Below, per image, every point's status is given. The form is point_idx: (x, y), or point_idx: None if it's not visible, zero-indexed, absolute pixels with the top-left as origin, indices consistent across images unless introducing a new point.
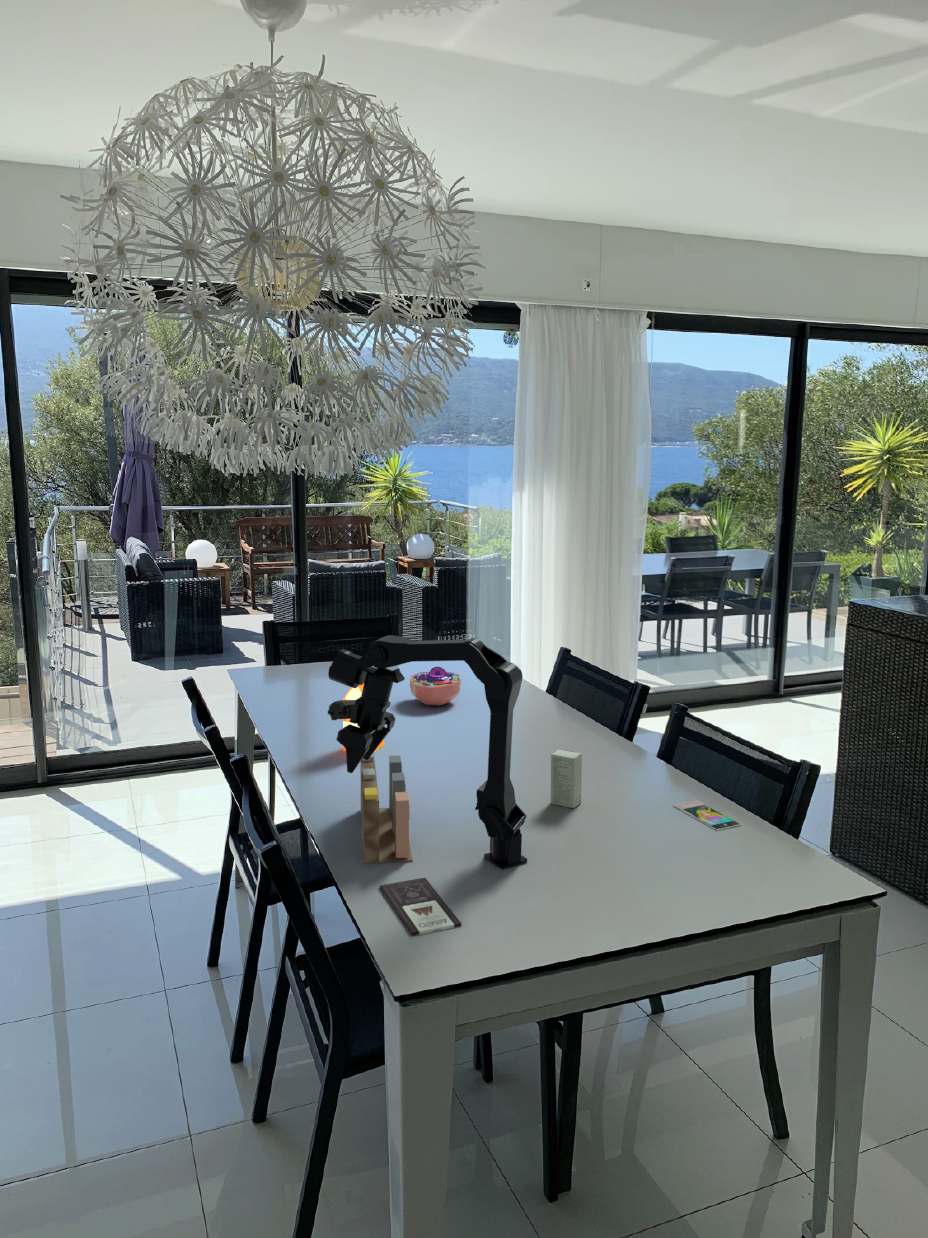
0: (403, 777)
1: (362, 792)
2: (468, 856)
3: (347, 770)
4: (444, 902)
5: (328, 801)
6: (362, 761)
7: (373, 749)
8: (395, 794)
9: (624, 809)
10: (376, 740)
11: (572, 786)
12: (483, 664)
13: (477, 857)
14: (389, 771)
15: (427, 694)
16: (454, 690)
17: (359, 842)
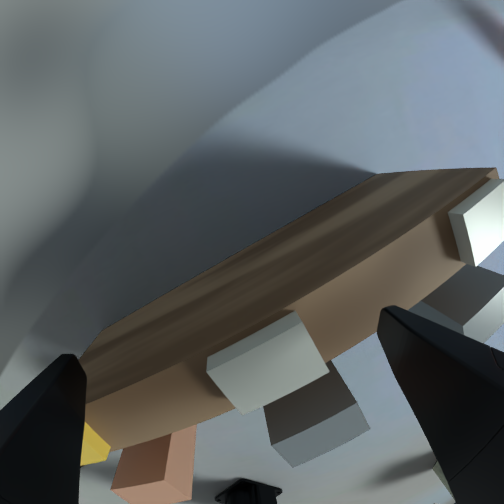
0: (319, 453)
1: (151, 358)
2: (235, 464)
3: (59, 359)
4: (82, 466)
5: (386, 76)
6: (447, 213)
7: (416, 407)
8: (149, 483)
9: (428, 491)
10: (458, 456)
11: (446, 485)
12: None
13: (238, 472)
14: (459, 283)
15: None
16: None
17: (190, 269)
